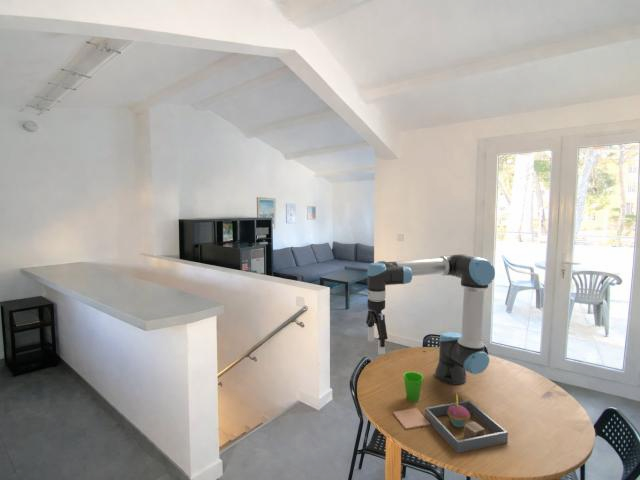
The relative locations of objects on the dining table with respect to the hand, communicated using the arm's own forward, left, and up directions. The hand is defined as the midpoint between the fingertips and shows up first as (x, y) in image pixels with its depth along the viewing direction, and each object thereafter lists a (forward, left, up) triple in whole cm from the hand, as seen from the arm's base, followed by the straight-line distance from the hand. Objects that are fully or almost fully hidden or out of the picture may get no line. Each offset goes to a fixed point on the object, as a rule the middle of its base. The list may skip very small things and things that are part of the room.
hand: (376, 347), depth 148 cm
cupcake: (-28, +19, -28) cm, 44 cm away
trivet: (-11, +12, -27) cm, 32 cm away
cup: (-19, -1, -28) cm, 34 cm away
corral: (-28, +23, -27) cm, 45 cm away
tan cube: (-28, +29, -28) cm, 49 cm away
